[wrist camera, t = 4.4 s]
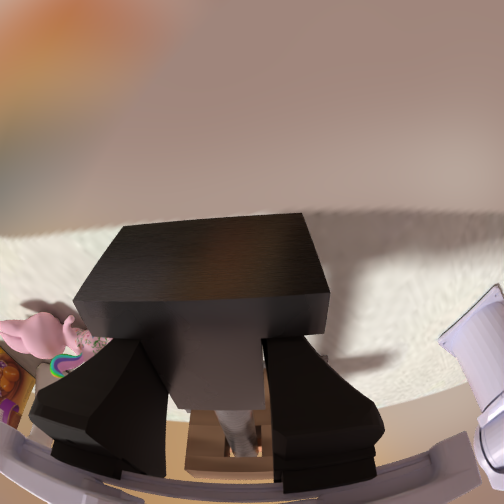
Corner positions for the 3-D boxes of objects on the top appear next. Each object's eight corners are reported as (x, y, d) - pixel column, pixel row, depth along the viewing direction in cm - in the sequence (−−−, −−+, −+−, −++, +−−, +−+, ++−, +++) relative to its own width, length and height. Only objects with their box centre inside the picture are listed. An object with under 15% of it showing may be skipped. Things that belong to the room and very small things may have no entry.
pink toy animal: (130, 297, 21) (-9, 291, 18) (119, 359, 16) (-35, 337, 13) (143, 347, 24) (15, 337, 21) (138, 404, 19) (-2, 381, 16)
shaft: (289, 421, 20) (293, 470, 16) (203, 423, 20) (199, 471, 17) (301, 212, 11) (330, 292, 7) (123, 226, 11) (72, 300, 7)
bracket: (290, 384, 24) (299, 476, 16) (202, 387, 24) (194, 477, 16) (292, 366, 22) (303, 468, 15) (196, 369, 23) (184, 469, 15)
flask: (66, 395, 29) (46, 455, 20) (29, 362, 25) (1, 425, 17) (99, 395, 28) (79, 466, 19) (58, 358, 24) (27, 434, 15)
